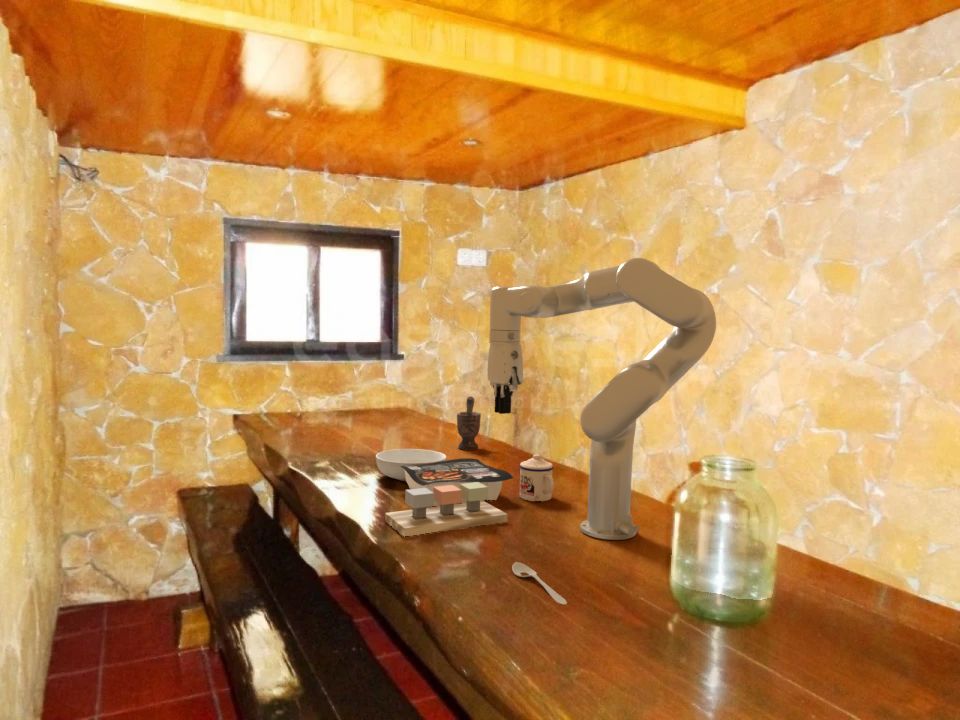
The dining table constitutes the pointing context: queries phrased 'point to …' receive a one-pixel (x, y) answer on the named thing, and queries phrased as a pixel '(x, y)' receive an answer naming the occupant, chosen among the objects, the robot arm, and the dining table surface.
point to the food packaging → (456, 476)
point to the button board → (444, 519)
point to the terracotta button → (447, 497)
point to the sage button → (474, 494)
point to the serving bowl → (405, 460)
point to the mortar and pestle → (468, 426)
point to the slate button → (419, 501)
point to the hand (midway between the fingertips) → (502, 412)
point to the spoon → (521, 568)
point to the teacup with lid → (536, 479)
